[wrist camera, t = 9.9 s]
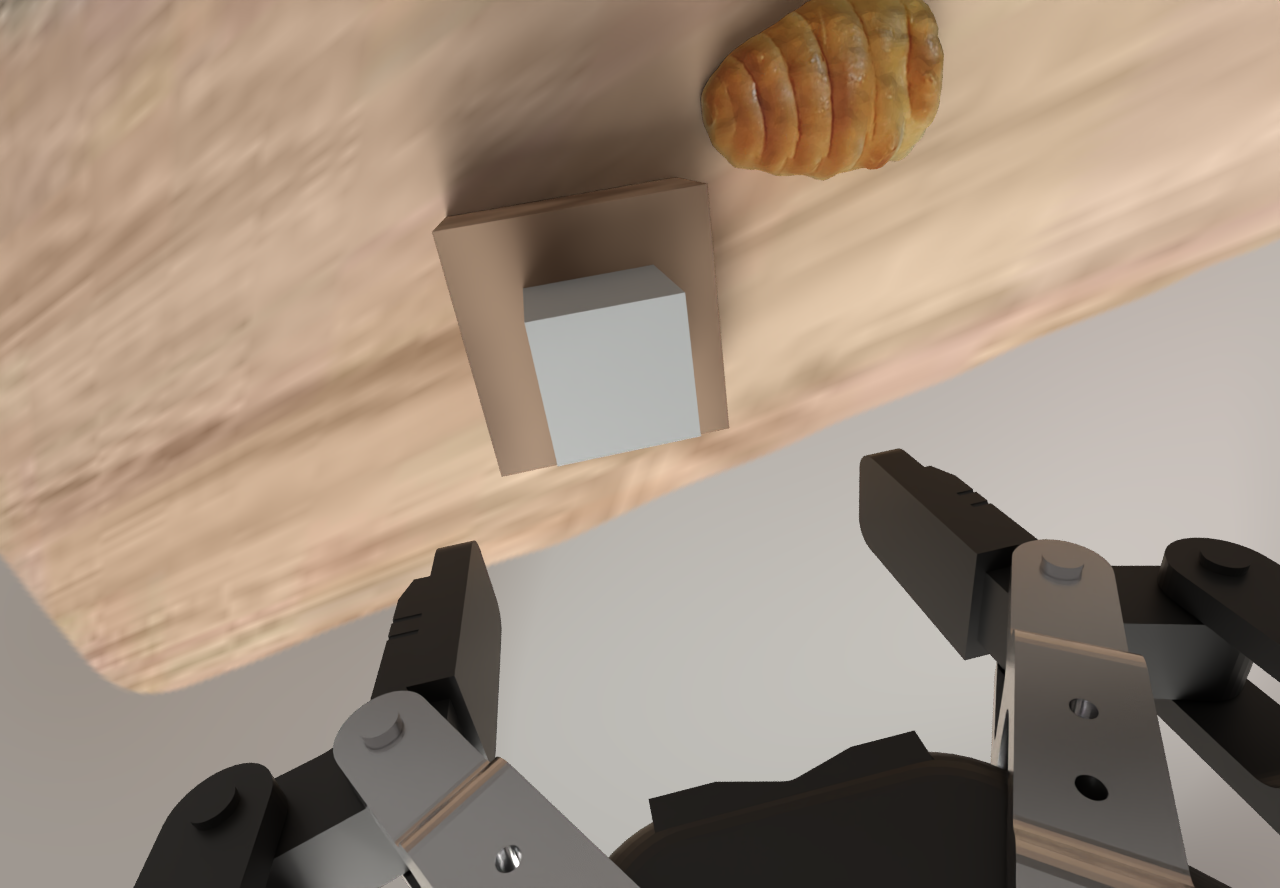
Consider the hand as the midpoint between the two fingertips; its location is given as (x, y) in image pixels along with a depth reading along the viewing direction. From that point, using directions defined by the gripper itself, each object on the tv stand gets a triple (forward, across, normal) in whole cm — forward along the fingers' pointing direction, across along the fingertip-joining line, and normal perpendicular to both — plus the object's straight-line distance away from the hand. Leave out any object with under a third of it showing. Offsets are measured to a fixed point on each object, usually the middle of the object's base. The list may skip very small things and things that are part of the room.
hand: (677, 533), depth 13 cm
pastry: (+19, -11, -7) cm, 23 cm away
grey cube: (+13, 0, 0) cm, 13 cm away
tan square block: (+18, 0, 0) cm, 18 cm away
